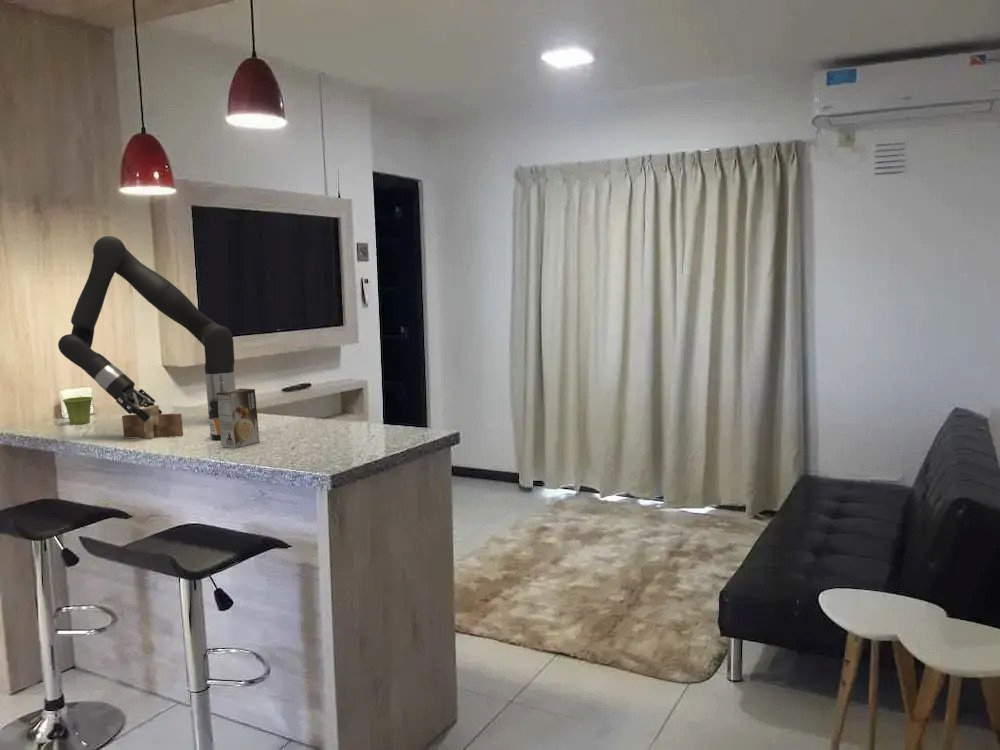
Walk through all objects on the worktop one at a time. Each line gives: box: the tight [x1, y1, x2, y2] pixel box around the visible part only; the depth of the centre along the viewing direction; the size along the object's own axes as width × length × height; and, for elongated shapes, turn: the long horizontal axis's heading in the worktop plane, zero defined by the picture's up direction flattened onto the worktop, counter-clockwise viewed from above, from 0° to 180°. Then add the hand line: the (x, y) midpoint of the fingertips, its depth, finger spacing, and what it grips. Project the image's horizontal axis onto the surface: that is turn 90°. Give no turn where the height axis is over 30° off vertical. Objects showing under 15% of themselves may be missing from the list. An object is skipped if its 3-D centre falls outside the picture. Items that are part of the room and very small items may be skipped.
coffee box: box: [217, 388, 260, 449], centre depth 238 cm, size 9×6×16 cm
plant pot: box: [62, 396, 94, 425], centre depth 286 cm, size 9×9×9 cm
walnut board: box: [121, 413, 184, 439], centre depth 256 cm, size 18×2×7 cm, turn 88°
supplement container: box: [208, 398, 221, 441], centre depth 251 cm, size 10×10×12 cm
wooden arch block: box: [141, 404, 160, 439], centre depth 256 cm, size 2×6×10 cm, turn 178°
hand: (153, 417), depth 255 cm, fingers open, 8 cm apart
